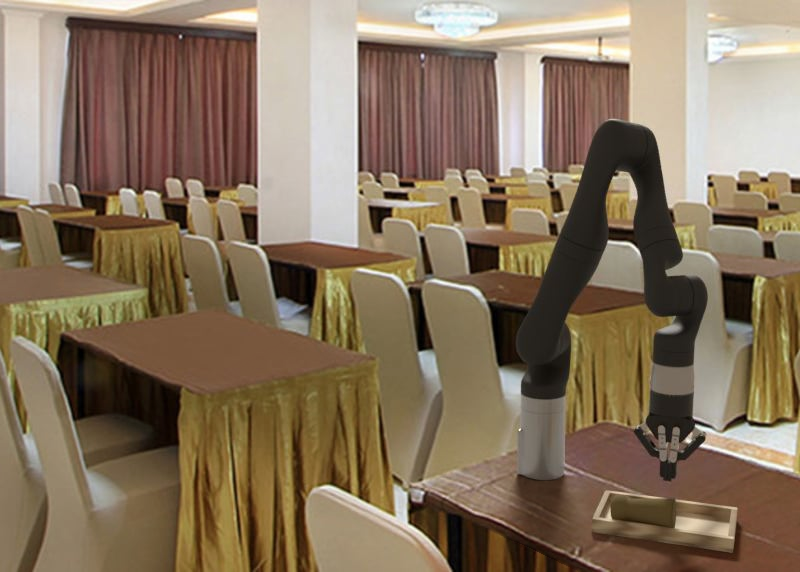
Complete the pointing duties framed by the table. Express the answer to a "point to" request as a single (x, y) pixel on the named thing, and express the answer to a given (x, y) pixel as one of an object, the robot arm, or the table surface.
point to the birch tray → (691, 529)
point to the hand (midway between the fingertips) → (667, 479)
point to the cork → (644, 510)
